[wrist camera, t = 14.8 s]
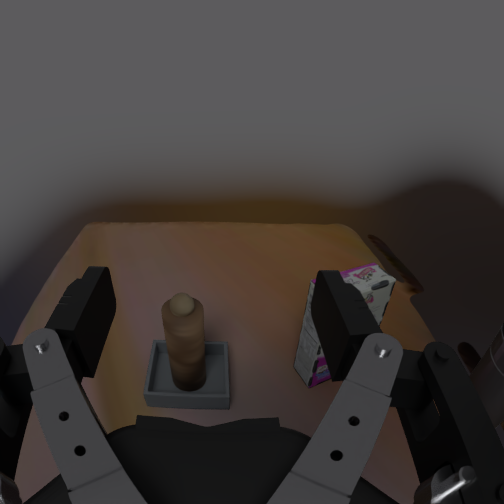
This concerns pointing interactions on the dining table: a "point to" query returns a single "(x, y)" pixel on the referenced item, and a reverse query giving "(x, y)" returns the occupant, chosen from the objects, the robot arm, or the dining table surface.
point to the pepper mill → (185, 341)
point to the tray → (168, 395)
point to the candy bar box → (309, 348)
